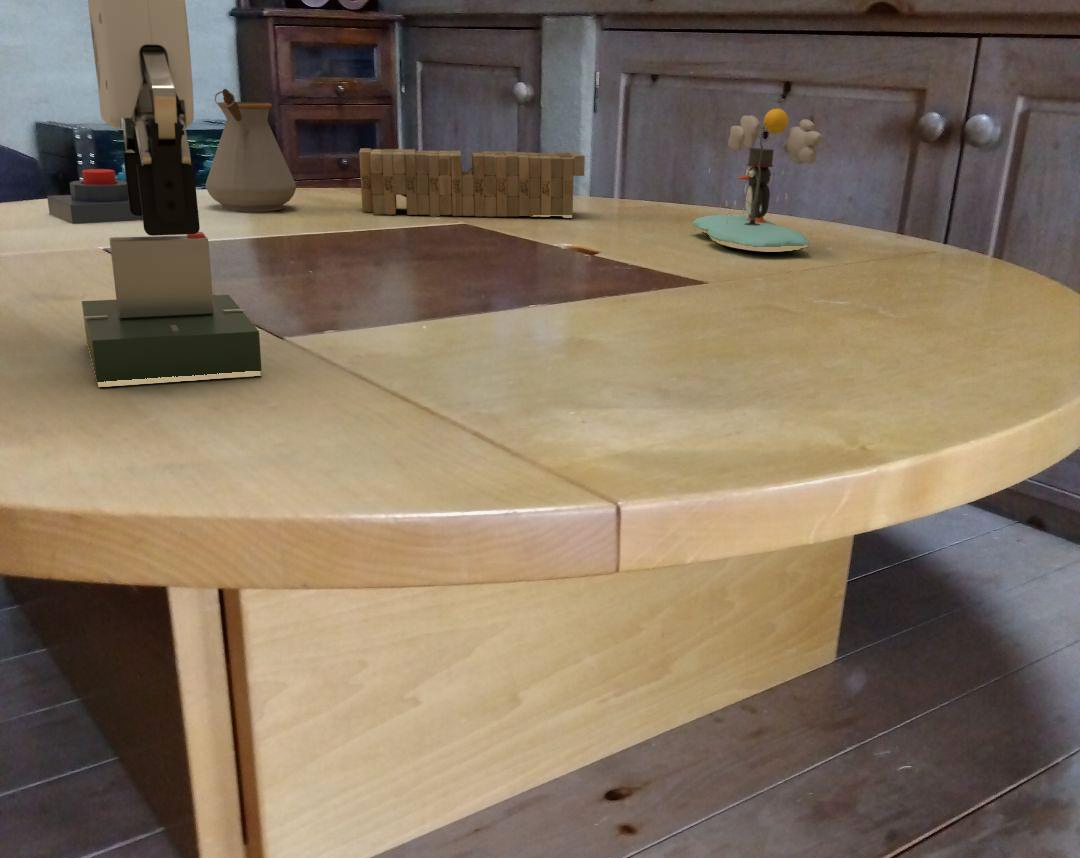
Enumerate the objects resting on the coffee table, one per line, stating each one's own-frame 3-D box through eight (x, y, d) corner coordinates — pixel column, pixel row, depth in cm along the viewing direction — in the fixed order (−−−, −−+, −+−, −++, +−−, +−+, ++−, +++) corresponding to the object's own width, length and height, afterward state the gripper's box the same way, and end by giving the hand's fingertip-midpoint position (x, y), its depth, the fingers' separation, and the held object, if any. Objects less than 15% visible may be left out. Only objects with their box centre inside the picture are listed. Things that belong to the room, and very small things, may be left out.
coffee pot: (215, 201, 152) (206, 82, 146) (302, 203, 153) (296, 85, 147) (183, 224, 132) (171, 87, 126) (282, 226, 133) (275, 90, 127)
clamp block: (96, 388, 69) (89, 337, 68) (85, 343, 79) (79, 298, 78) (263, 376, 73) (260, 328, 72) (233, 335, 83) (230, 292, 82)
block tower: (361, 221, 145) (584, 219, 148) (357, 153, 142) (586, 151, 145) (364, 213, 153) (576, 210, 155) (360, 147, 149) (577, 146, 152)
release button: (89, 188, 131) (87, 172, 130) (79, 184, 134) (77, 169, 133) (120, 187, 133) (118, 171, 133) (110, 183, 136) (108, 168, 135)
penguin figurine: (685, 231, 142) (696, 102, 136) (767, 233, 143) (781, 105, 137) (726, 258, 123) (740, 110, 117) (819, 260, 125) (839, 114, 118)
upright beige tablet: (119, 319, 73) (110, 236, 71) (118, 314, 74) (108, 233, 72) (214, 314, 75) (208, 234, 73) (211, 310, 76) (204, 231, 74)
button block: (72, 224, 129) (68, 188, 127) (49, 214, 135) (44, 180, 134) (158, 219, 135) (155, 185, 133) (132, 210, 141) (128, 177, 139)
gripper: (56, -69, 71) (93, 209, 78) (67, -100, 57) (111, 246, 64) (178, -62, 74) (204, 206, 81) (218, -90, 60) (246, 240, 66)
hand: (163, 223), depth 72 cm, fingers open, 9 cm apart
